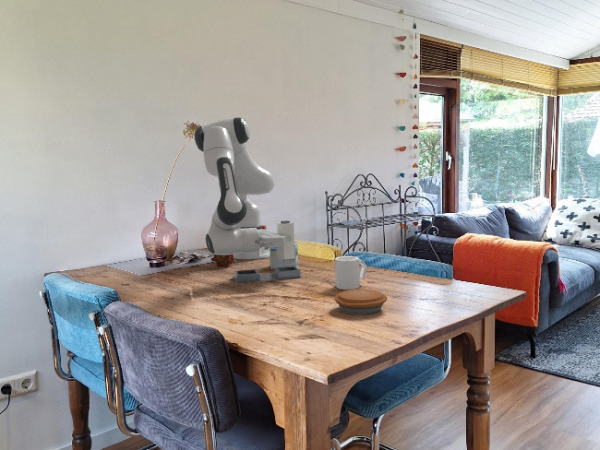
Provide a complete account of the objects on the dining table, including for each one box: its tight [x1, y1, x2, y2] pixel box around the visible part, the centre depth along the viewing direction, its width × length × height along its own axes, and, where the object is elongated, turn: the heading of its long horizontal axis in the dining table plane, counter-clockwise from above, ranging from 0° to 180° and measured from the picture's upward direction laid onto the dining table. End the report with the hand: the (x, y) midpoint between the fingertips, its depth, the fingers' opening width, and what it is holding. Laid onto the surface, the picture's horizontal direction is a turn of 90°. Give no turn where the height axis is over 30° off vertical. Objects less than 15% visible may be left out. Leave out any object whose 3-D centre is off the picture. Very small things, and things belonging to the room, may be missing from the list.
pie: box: [333, 288, 388, 315], centre depth 165 cm, size 16×16×5 cm
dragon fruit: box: [210, 254, 235, 267], centre depth 236 cm, size 8×8×12 cm
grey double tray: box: [232, 266, 303, 285], centre depth 207 cm, size 24×12×4 cm, turn 103°
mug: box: [334, 255, 368, 291], centre depth 194 cm, size 12×9×10 cm
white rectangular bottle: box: [276, 219, 295, 260], centre depth 207 cm, size 4×4×14 cm
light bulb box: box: [269, 241, 299, 270], centre depth 224 cm, size 11×7×11 cm, turn 84°
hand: (287, 237), depth 207 cm, fingers closed on white rectangular bottle, 5 cm apart
